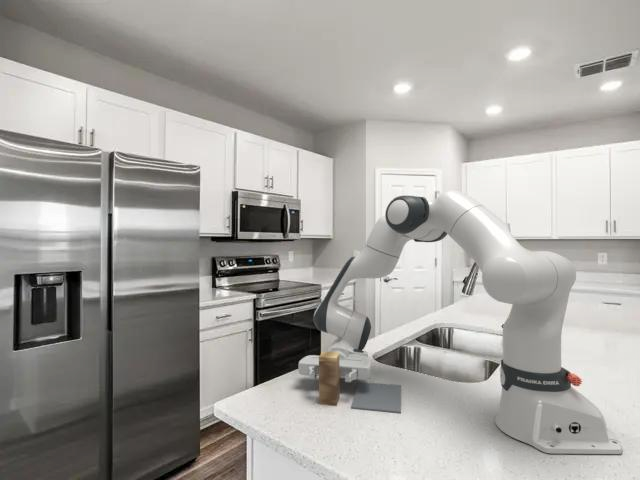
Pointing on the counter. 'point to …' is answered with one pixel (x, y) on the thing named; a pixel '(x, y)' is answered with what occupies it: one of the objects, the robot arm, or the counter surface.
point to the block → (329, 378)
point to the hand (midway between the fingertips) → (329, 377)
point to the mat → (377, 397)
